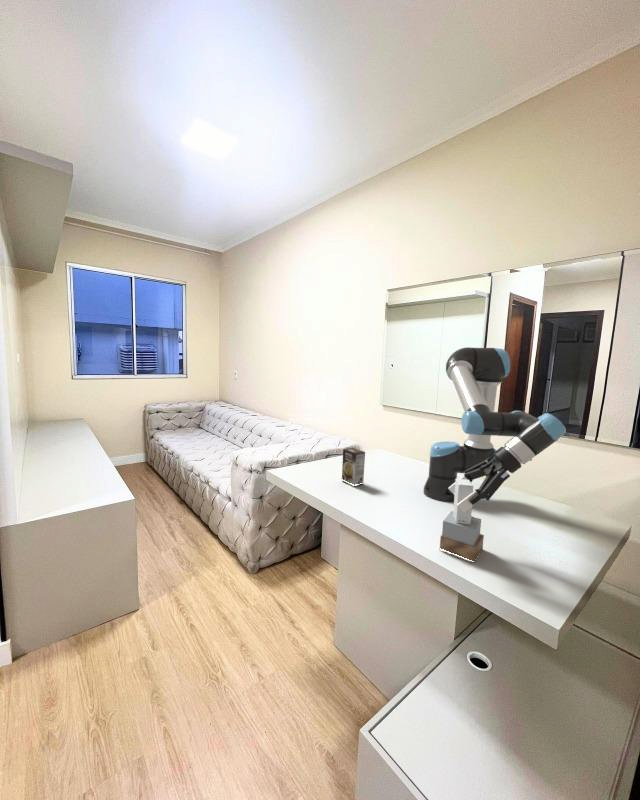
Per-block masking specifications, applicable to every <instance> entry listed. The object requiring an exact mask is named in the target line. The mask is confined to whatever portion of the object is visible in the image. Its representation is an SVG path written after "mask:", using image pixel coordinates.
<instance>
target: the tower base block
mask: <svg viewBox="0 0 640 800" xmlns="http://www.w3.org/2000/svg"><path fill="white" fill-rule="evenodd" d="M484 537H485V535H484V534H482V533H480V535H479V537H478V539H477V541H476V542H475V544H474V546H471V545H468V544H465V543H461V542H458V541H455V540H452V539H449V538H446V537H442V534H441V535H440V541H439V549H440V548H441V549H444V550H446V551H449V552H451V553H454V554H457V555H459V556H462V557H464V558H467V559H469V560H472V561H475V559H476V558H477V556H478V555H479V556H480V554H481V553H482V551H483V549H484ZM481 550H482V551H481ZM480 552H481V553H480ZM479 553H480V554H479ZM479 556H478V557H479ZM477 559H478V558H477ZM477 559H476V560H477ZM475 562H476V561H475Z"/></svg>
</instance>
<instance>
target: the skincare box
mask: <svg viewBox="0 0 640 800" xmlns="http://www.w3.org/2000/svg"><path fill="white" fill-rule="evenodd" d="M472 492H474V485H473V484H472V482H470V481H469V480H464V479H460V478H457V479H456V481H455V495H454V501H453V510H452V511H453V516H454V518H455V521H456V523H462V524H471V516H472V510H473V506H472V507H471V508H469V509H468V510H467V511H465V512H463V511H462V510H461V509H460V508H459V507H458V506H457V504H458V503H459V502H461V501H462V500H463V499H465V498H466V497H467V496H469V495H470V494H471V493H472Z"/></svg>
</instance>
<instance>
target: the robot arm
mask: <svg viewBox="0 0 640 800" xmlns="http://www.w3.org/2000/svg"><path fill="white" fill-rule="evenodd" d="M510 371H511V359H510V356H509V353H508V352H507V351H506V350H505V349H503V348H497V347H471V346H470V347H467V346H466V347H462V348H459V349H456V351H454V352H453V353H452V354H451V355H450V356H449V357H448V359H447V360H446V364H445V372H446V375H447V377H448V379H449V380H451V381H452V384H453V385H454V388H455V390H456V393H457V396H458V398H459V401H460V403H461V407H462V408H463V411H464V412H463V413H462V417H461V423H460V424H461V428H462V431H463V432H464V433H465V434H467V435H468V437H467V438H466V439H464V441H463V445H462V446H461V445H460V444H459V443H458V442H456V441H438V442H437V441H436V442H435V443H433V444H432V445H431V447H430V452H429V466H428V477H427V479H426V481H425V484H424V486H423V494H424V495H425V496H426V495H427V496H426V497H428V498H430V497H431V499H433V500H436V499H437V501H441V500H442V502H443V501H444V502H454V495H455V481H456V479H458V474H463V476H461V477H460V478H459V479H464V480H469V481H470V482H471V483H472V482H473V481H474V480H477V479H479V478H483V477H485V478H484V480H483V481H482V483H481V485H480V486H479V487H478V488H475V489H474V490H473V492H472V493H471V494H470V495H469V496H467V497H466V498H465V499H463V500H462V501H461V502H459V503H458V504H457V506H458V507H459V508H460V509H461V510H462V511H463V512H465V511H467V510H468V509H469V508H471V507H472V508H473V507H474V505H476V504H478V503H479V502H480V501H481V500H486V501H489V500H490V499H491V498H492V497H493V495H494V494H495V493H496V492H497V491H498V490H499V488H500V487H501V486H502V485H503V484H504V482H505V481H506V480H508V479H509V478H510V477H511V476H510V474H514V473H515V472H516V471H518V470H519V469H521V468H522V464H523V465H526V463H528V462H531V461H533V459H534V458H535V457H536V456H537V455H539V454H540V453H542V452H543V451H545V450H546V449H548V448H549V447H550V446H552V445H553V444H555V442H557V441H558V440H559V439H560V438H561V437H563V435H565V434H566V432H567V429H566V428H567V427H566V426H565V425H564V424H563V423H562V422H561V420H559V419H558V418H557V417H556V416H554V415H553V414H550V413H548V412H545V413H543V414H541V415H540V416H538V417H536V416H533V415H531V414H529V412H526V411H522V410H513V411H511V412H500V411H495V406H496V398H497V391H498V386H499V385H500V384H502V383H503V378H504V379H505V378H506V377H508V376H509V373H510ZM492 436H498V437H512V438H510V439H509V440H507V442H505V443H504V446H500V447H499V448H498V449H496V448H494V444H493V443H492V442H491V437H492ZM507 471H508V472H507ZM509 473H510V474H509Z"/></svg>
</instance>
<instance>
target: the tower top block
mask: <svg viewBox="0 0 640 800" xmlns="http://www.w3.org/2000/svg"><path fill="white" fill-rule="evenodd" d="M481 527H482V519H481V518H479V517H474V516H472V515H471V524H462V523H456V521H455V518H454V516H453V510H451V511H450V512H449V513H448V515H446V516H445V518H444V519H443V520H442V531H441V532H442V533H441V535H442V537H446V538H449V539H452V540H455V541H458V542H461V543H465V544H468V545H471V546H474V544H475V542H476V541H477V539H478V537H479V535H480V534H481Z"/></svg>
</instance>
